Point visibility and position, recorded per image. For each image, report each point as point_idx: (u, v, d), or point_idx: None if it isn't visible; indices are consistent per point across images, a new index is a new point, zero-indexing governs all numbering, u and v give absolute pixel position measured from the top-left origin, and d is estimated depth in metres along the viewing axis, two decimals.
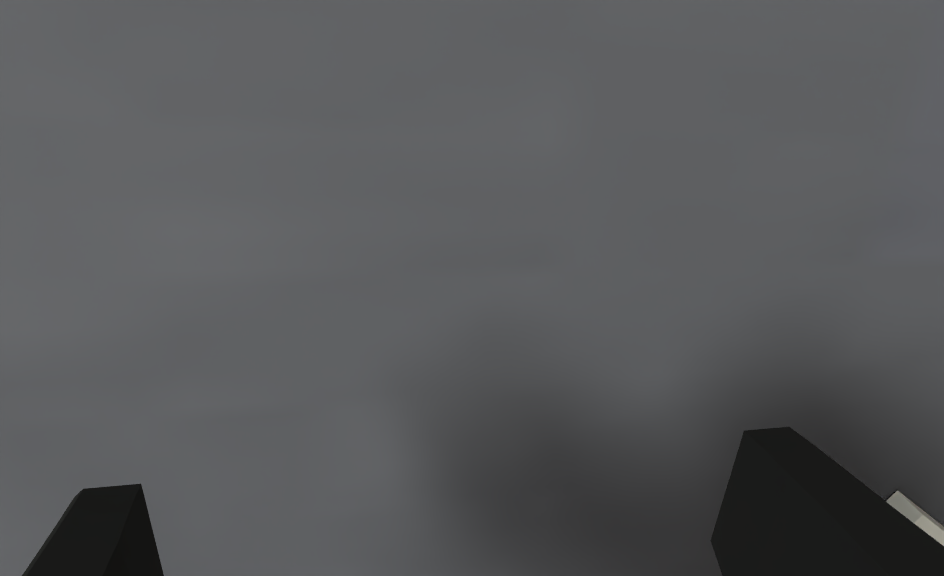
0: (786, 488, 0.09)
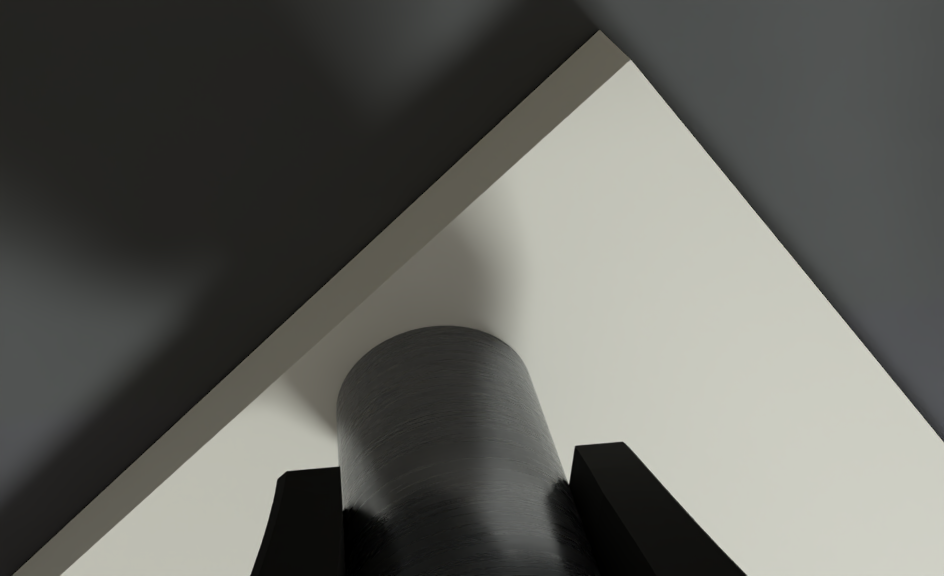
0: (602, 507, 0.09)
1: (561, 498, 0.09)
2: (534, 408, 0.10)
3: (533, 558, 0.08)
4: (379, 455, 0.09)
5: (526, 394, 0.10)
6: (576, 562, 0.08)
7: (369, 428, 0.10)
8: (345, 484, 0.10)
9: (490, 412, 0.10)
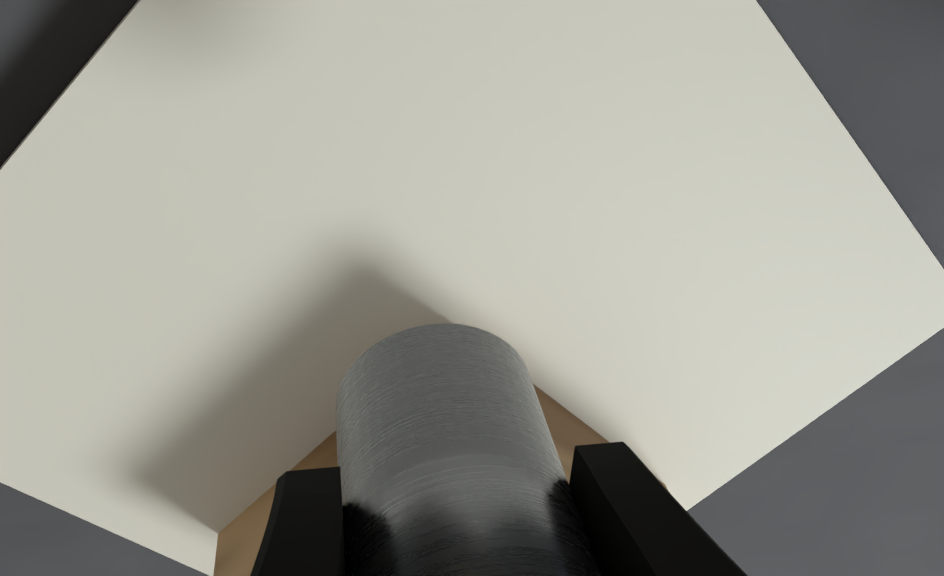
0: (601, 507, 0.09)
1: (560, 496, 0.09)
2: (533, 406, 0.10)
3: (532, 556, 0.08)
4: (378, 453, 0.09)
5: (526, 392, 0.10)
6: (575, 559, 0.08)
7: (369, 427, 0.10)
8: (344, 482, 0.10)
9: (489, 409, 0.10)
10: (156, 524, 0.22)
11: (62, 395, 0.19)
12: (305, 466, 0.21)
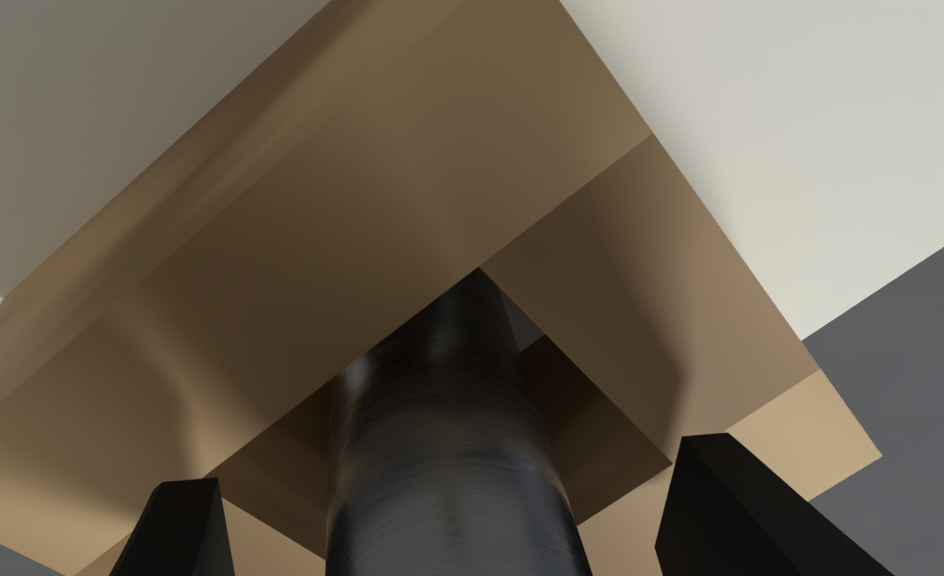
0: (718, 495, 0.09)
1: (505, 343, 0.11)
2: (492, 290, 0.12)
3: (472, 368, 0.10)
4: None
5: (486, 280, 0.13)
6: (509, 377, 0.10)
7: None
8: None
9: None
10: None
11: None
12: (159, 162, 0.11)
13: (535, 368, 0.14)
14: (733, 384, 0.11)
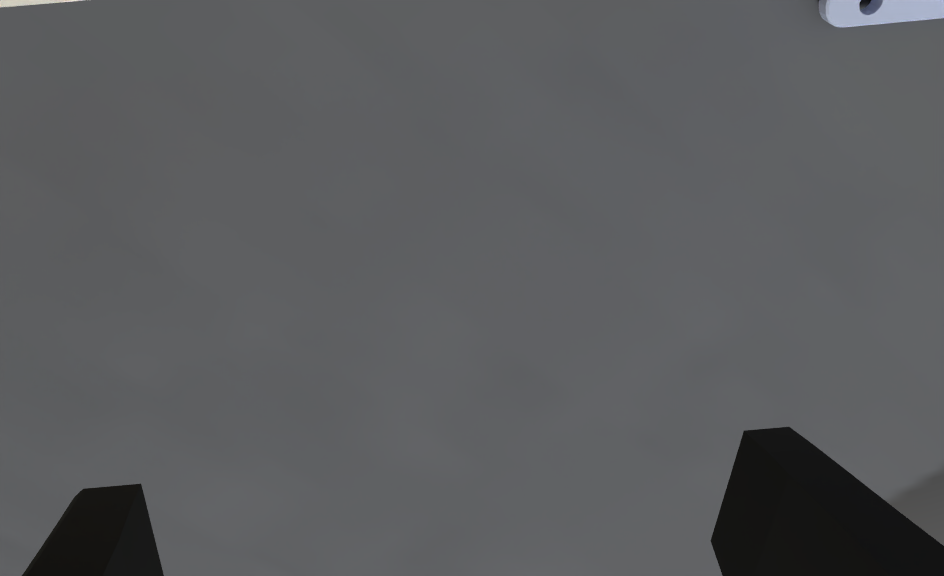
0: (786, 488, 0.09)
1: None
2: None
3: None
4: None
5: None
6: None
7: None
8: None
9: None
10: None
11: None
12: None
13: None
14: None
